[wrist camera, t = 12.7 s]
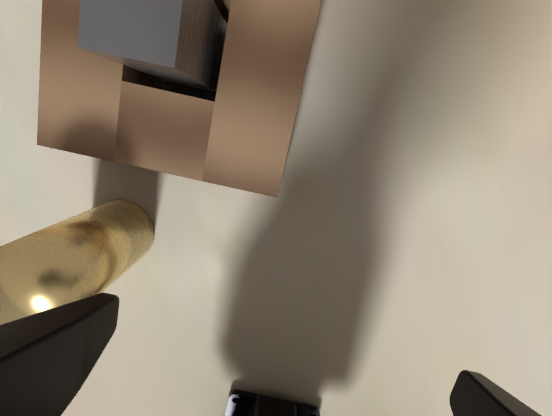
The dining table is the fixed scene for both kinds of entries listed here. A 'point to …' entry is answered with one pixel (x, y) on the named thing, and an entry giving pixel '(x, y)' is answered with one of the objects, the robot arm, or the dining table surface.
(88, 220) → the round bit
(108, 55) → the square bit
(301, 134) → the dining table surface
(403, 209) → the dining table surface
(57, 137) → the socket block
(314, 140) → the dining table surface
